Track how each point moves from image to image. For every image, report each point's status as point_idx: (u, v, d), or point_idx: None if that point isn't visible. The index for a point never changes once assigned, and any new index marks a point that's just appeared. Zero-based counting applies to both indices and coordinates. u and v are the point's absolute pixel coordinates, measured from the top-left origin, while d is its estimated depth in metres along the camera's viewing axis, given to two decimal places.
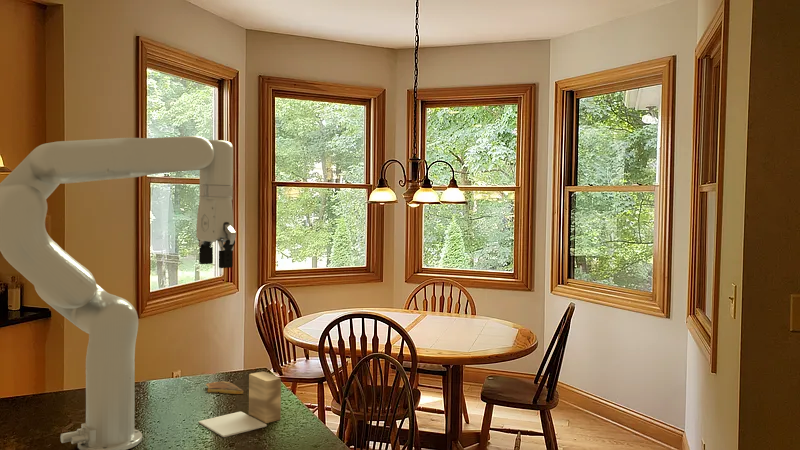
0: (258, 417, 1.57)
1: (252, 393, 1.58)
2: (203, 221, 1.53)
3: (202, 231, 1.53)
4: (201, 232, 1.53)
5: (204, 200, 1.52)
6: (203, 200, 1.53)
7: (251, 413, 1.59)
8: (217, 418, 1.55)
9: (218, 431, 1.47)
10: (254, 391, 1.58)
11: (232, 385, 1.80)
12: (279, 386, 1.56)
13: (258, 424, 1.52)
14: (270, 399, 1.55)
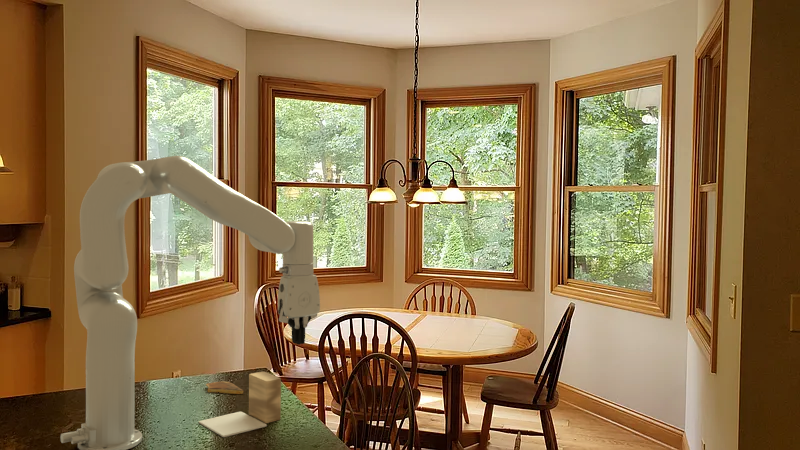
0: (258, 417, 1.57)
1: (252, 393, 1.58)
2: (302, 298, 1.61)
3: (300, 308, 1.61)
4: (299, 309, 1.60)
5: (302, 279, 1.61)
6: (300, 279, 1.60)
7: (251, 413, 1.59)
8: (217, 418, 1.55)
9: (218, 431, 1.47)
10: (254, 391, 1.58)
11: (232, 385, 1.80)
12: (279, 386, 1.56)
13: (258, 424, 1.52)
14: (270, 399, 1.55)
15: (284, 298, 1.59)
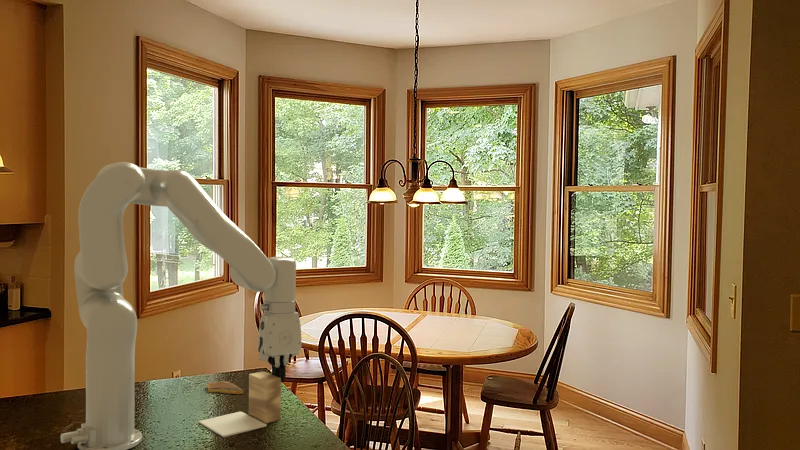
0: (258, 417, 1.57)
1: (252, 393, 1.58)
2: (282, 336, 1.58)
3: (281, 346, 1.58)
4: (279, 348, 1.57)
5: (283, 317, 1.58)
6: (281, 316, 1.57)
7: (251, 413, 1.59)
8: (217, 418, 1.55)
9: (218, 431, 1.47)
10: (254, 391, 1.58)
11: (232, 385, 1.80)
12: (279, 386, 1.56)
13: (258, 424, 1.52)
14: (270, 399, 1.55)
15: (264, 336, 1.56)
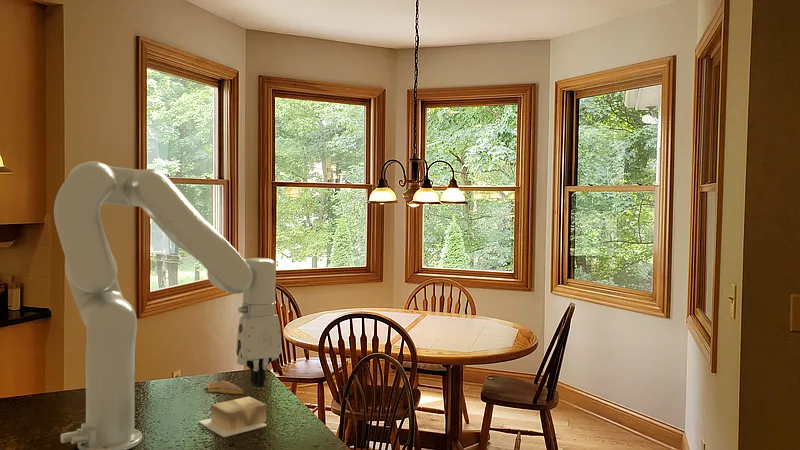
0: None
1: None
2: (261, 340, 1.54)
3: (260, 350, 1.54)
4: (258, 351, 1.53)
5: (262, 319, 1.54)
6: (260, 319, 1.53)
7: None
8: None
9: (218, 431, 1.47)
10: None
11: (232, 385, 1.80)
12: (235, 413, 1.49)
13: (258, 424, 1.52)
14: (245, 421, 1.50)
15: (242, 339, 1.52)
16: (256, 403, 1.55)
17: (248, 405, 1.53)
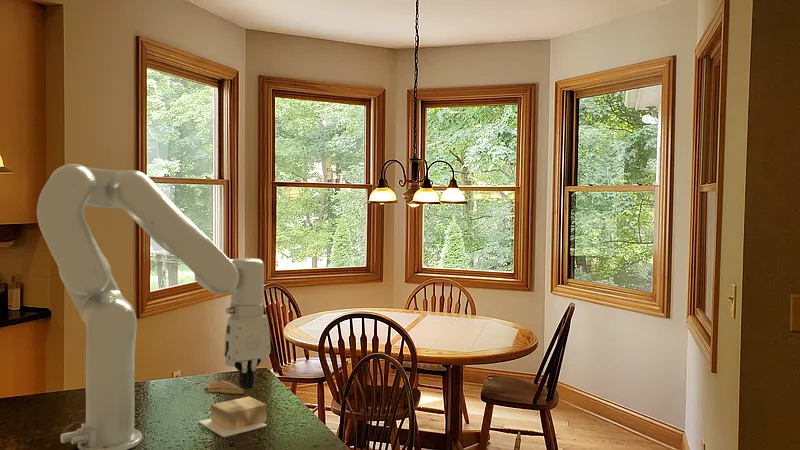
0: None
1: None
2: (250, 341, 1.52)
3: (248, 351, 1.51)
4: (246, 353, 1.51)
5: (250, 320, 1.52)
6: (248, 320, 1.51)
7: None
8: None
9: (218, 431, 1.47)
10: None
11: (232, 385, 1.80)
12: (235, 413, 1.49)
13: (258, 424, 1.52)
14: (245, 421, 1.50)
15: (230, 341, 1.50)
16: (256, 403, 1.55)
17: (248, 405, 1.53)
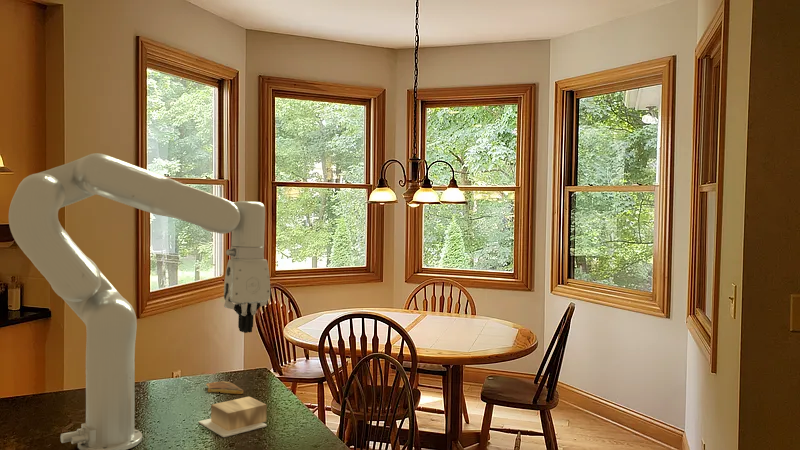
0: None
1: None
2: (249, 283, 1.51)
3: (248, 294, 1.51)
4: (246, 295, 1.50)
5: (250, 263, 1.51)
6: (248, 262, 1.51)
7: None
8: None
9: (218, 431, 1.47)
10: None
11: (232, 385, 1.80)
12: (235, 413, 1.49)
13: (258, 424, 1.52)
14: (245, 421, 1.50)
15: (230, 282, 1.49)
16: (256, 403, 1.55)
17: (248, 405, 1.53)
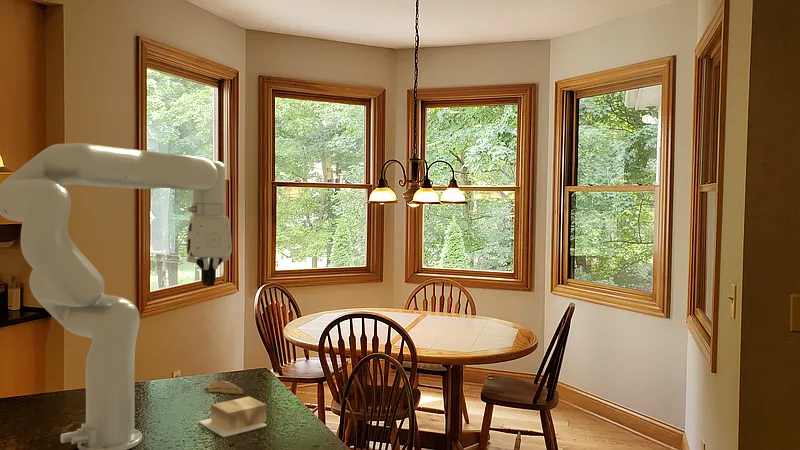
0: None
1: None
2: (211, 238, 1.59)
3: (209, 248, 1.58)
4: (207, 249, 1.58)
5: (211, 219, 1.59)
6: (209, 218, 1.58)
7: None
8: None
9: (218, 431, 1.47)
10: None
11: (232, 385, 1.80)
12: (235, 413, 1.49)
13: (258, 424, 1.52)
14: (245, 421, 1.50)
15: (192, 237, 1.57)
16: (256, 403, 1.55)
17: (248, 405, 1.53)
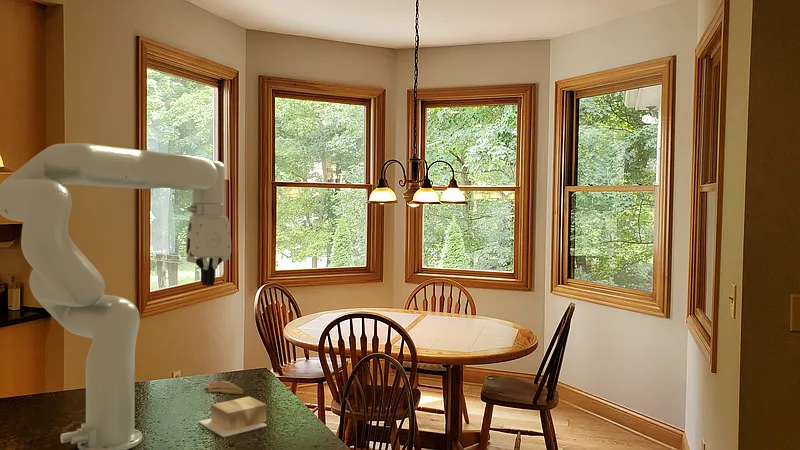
0: None
1: None
2: (210, 238, 1.59)
3: (209, 248, 1.59)
4: (207, 249, 1.58)
5: (211, 219, 1.59)
6: (209, 218, 1.58)
7: None
8: None
9: (218, 431, 1.47)
10: None
11: (232, 385, 1.80)
12: (235, 413, 1.49)
13: (258, 424, 1.52)
14: (245, 421, 1.50)
15: (191, 237, 1.57)
16: (256, 403, 1.55)
17: (248, 405, 1.53)
